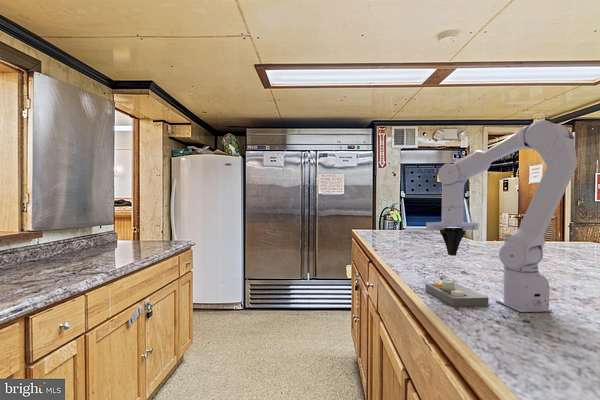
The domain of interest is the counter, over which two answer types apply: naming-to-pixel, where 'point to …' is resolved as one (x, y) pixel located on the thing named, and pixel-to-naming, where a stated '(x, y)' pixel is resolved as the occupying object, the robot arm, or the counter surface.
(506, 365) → the counter surface
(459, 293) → the button ivory
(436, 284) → the button orange
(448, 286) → the button sage
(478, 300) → the panel
